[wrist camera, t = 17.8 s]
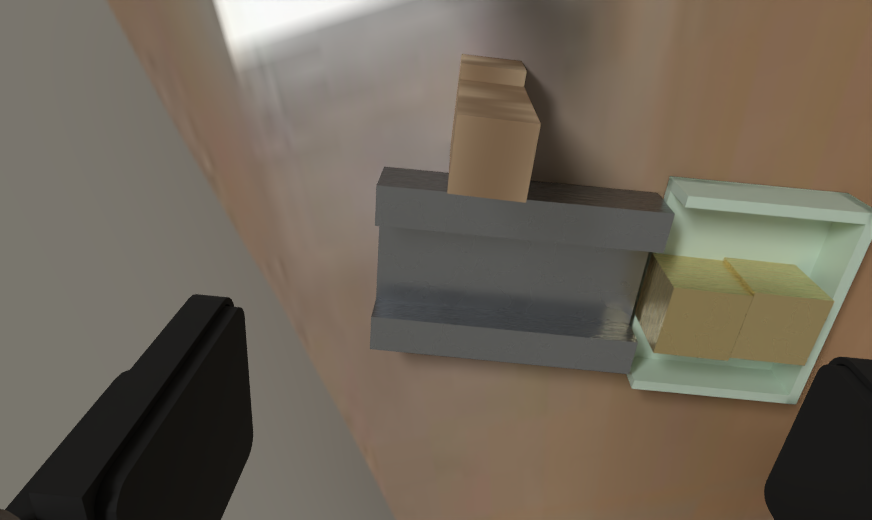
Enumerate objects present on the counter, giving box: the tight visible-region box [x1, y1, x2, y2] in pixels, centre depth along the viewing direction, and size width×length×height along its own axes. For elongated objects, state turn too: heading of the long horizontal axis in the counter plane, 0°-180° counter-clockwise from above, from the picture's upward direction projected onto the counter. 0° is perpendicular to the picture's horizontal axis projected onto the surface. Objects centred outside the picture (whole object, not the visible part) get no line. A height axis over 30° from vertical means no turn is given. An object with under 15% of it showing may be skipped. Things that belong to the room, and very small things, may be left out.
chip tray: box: [626, 176, 872, 404], centre depth 33 cm, size 10×12×3 cm
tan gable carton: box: [447, 54, 541, 203], centre depth 26 cm, size 3×4×10 cm
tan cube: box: [635, 253, 753, 361], centre depth 32 cm, size 4×4×4 cm
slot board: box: [370, 167, 675, 374], centre depth 33 cm, size 15×10×3 cm, turn 85°
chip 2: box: [723, 257, 835, 366], centre depth 32 cm, size 4×4×4 cm
